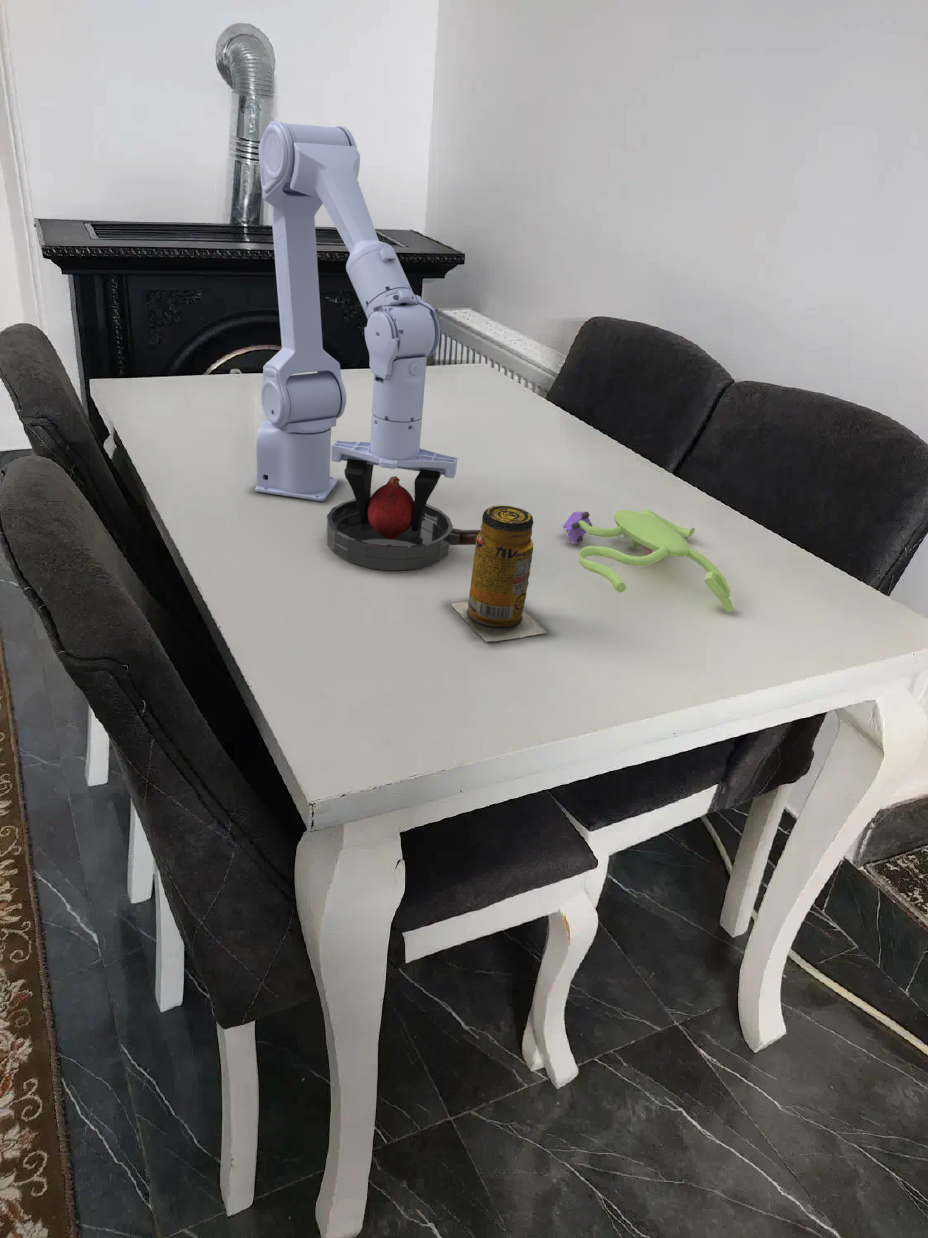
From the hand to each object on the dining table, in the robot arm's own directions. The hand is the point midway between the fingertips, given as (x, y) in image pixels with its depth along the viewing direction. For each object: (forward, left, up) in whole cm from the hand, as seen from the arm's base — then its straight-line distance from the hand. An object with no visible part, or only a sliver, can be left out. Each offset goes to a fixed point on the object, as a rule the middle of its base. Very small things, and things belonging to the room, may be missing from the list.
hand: (390, 524), depth 111 cm
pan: (0, 0, -3) cm, 3 cm away
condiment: (+15, -14, -3) cm, 21 cm away
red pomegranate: (0, 0, -2) cm, 2 cm away
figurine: (+31, +4, -3) cm, 31 cm away
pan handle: (+12, 0, -1) cm, 12 cm away
